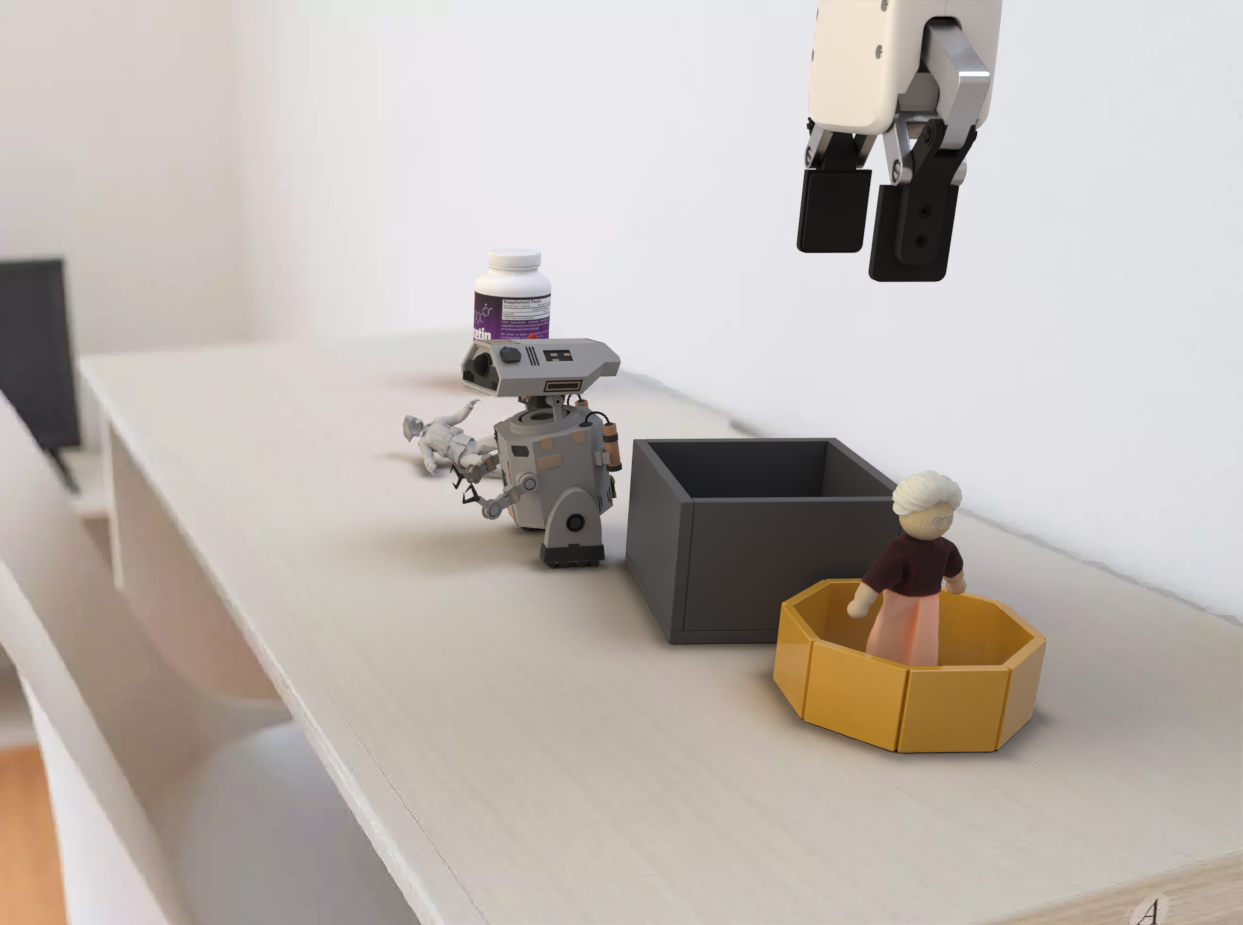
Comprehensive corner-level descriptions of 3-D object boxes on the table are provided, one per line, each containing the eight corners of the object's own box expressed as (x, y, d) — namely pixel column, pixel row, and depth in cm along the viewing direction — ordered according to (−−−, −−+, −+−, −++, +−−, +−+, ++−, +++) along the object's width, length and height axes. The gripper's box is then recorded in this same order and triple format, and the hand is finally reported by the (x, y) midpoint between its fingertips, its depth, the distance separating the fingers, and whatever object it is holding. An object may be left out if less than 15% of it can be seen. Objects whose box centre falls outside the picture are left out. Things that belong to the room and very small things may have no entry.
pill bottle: (466, 380, 141) (469, 247, 136) (538, 379, 142) (543, 246, 137) (478, 397, 134) (481, 257, 128) (554, 396, 134) (560, 256, 129)
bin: (820, 560, 88) (835, 437, 85) (897, 641, 76) (918, 500, 73) (624, 562, 88) (633, 438, 85) (668, 643, 75) (680, 502, 72)
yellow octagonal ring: (960, 648, 75) (972, 577, 73) (1068, 751, 63) (1085, 669, 62) (753, 650, 74) (761, 579, 73) (824, 754, 63) (835, 671, 61)
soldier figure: (495, 502, 104) (374, 439, 108) (500, 525, 108) (384, 463, 112) (544, 426, 106) (423, 367, 109) (547, 452, 110) (431, 394, 114)
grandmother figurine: (887, 730, 65) (923, 493, 61) (823, 702, 68) (854, 475, 64) (971, 691, 70) (1011, 466, 65) (908, 666, 72) (942, 450, 68)
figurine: (438, 530, 94) (441, 327, 89) (589, 523, 96) (601, 322, 91) (461, 574, 86) (465, 353, 81) (626, 566, 87) (641, 347, 82)
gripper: (1119, -189, 46) (1034, 294, 52) (921, -119, 62) (874, 243, 68) (911, -190, 46) (850, 295, 52) (767, -119, 62) (734, 243, 68)
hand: (864, 265), depth 60 cm, fingers open, 9 cm apart
